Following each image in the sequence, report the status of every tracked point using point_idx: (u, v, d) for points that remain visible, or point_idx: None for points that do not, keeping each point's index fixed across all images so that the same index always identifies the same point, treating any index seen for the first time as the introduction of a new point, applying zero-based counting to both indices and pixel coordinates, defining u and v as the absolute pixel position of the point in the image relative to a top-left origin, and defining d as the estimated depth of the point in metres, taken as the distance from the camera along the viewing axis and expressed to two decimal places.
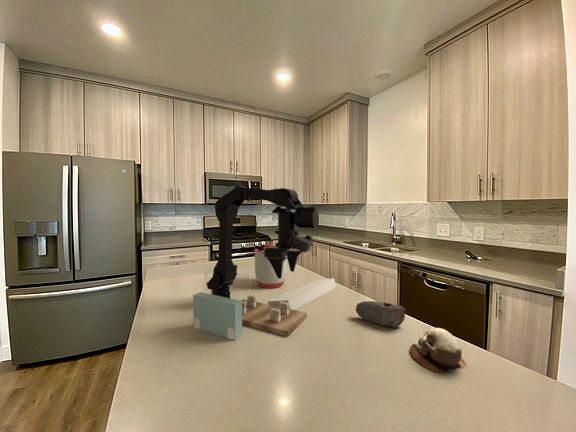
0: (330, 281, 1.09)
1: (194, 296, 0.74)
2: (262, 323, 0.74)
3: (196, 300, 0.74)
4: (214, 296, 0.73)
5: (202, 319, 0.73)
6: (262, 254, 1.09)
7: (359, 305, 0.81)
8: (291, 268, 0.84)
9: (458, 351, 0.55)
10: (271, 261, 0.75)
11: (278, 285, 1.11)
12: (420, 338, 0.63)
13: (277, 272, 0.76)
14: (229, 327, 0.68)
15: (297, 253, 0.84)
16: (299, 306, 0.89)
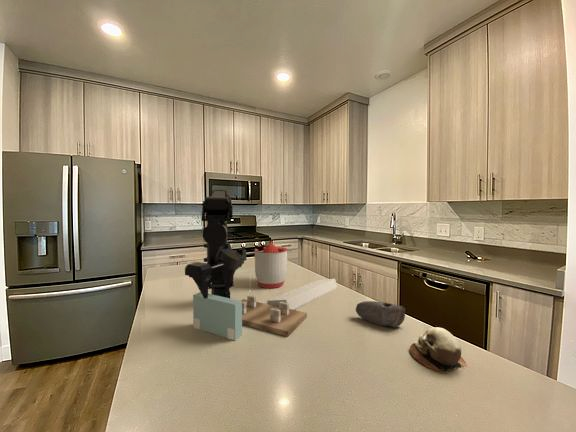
0: (331, 281, 1.09)
1: (194, 296, 0.74)
2: (262, 323, 0.74)
3: (196, 300, 0.74)
4: (214, 296, 0.73)
5: (202, 319, 0.73)
6: (262, 254, 1.09)
7: (359, 305, 0.81)
8: (226, 285, 0.76)
9: (457, 350, 0.56)
10: (195, 279, 0.67)
11: (278, 285, 1.11)
12: (420, 337, 0.63)
13: (202, 291, 0.67)
14: (229, 327, 0.68)
15: (232, 268, 0.76)
16: (298, 306, 0.89)
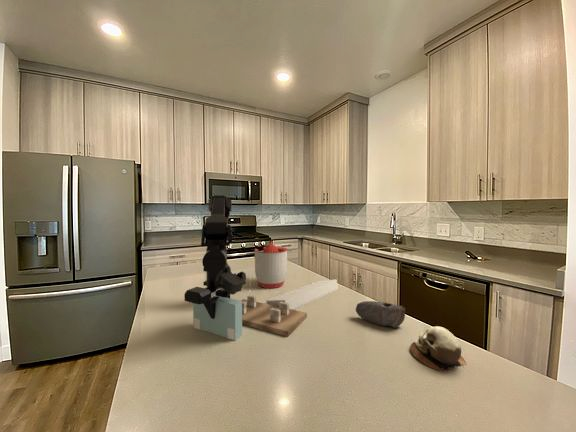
0: (332, 282, 1.08)
1: None
2: (262, 323, 0.74)
3: None
4: None
5: (202, 319, 0.73)
6: (262, 254, 1.09)
7: (359, 305, 0.81)
8: None
9: (457, 349, 0.56)
10: None
11: (278, 285, 1.11)
12: (420, 336, 0.64)
13: (210, 312, 0.70)
14: (229, 327, 0.68)
15: (226, 293, 0.73)
16: (296, 306, 0.89)
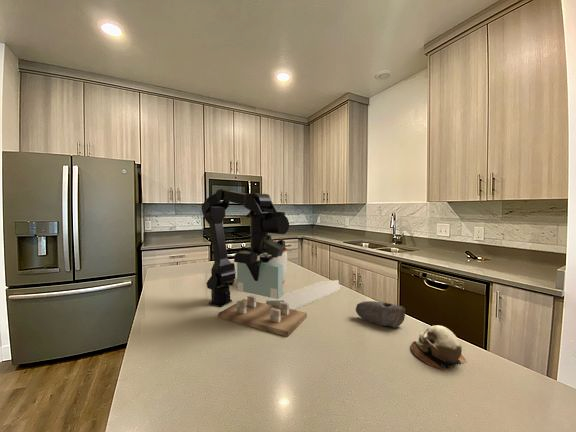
0: (333, 283, 1.07)
1: None
2: (262, 323, 0.74)
3: (239, 266, 0.82)
4: None
5: (246, 282, 0.81)
6: None
7: (359, 305, 0.81)
8: None
9: (458, 347, 0.57)
10: (248, 264, 0.78)
11: None
12: (421, 335, 0.64)
13: (254, 274, 0.78)
14: (272, 287, 0.76)
15: (267, 259, 0.81)
16: (296, 307, 0.88)
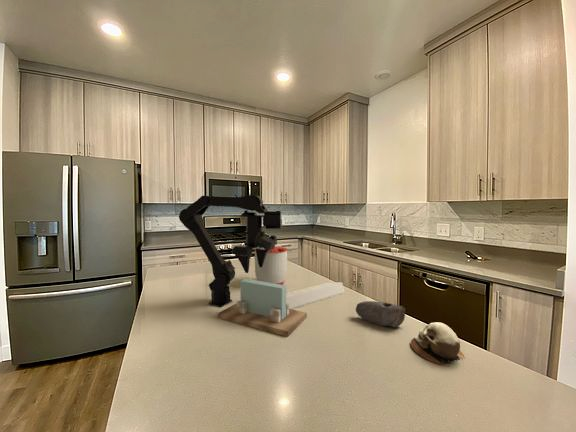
0: (336, 285, 1.04)
1: (241, 282, 0.83)
2: (262, 323, 0.74)
3: (243, 286, 0.83)
4: (260, 282, 0.82)
5: (250, 302, 0.82)
6: None
7: (359, 305, 0.81)
8: (260, 264, 0.96)
9: (457, 343, 0.59)
10: (239, 258, 0.87)
11: None
12: (420, 332, 0.66)
13: (245, 267, 0.88)
14: (276, 308, 0.77)
15: (265, 251, 0.96)
16: (291, 307, 0.88)
